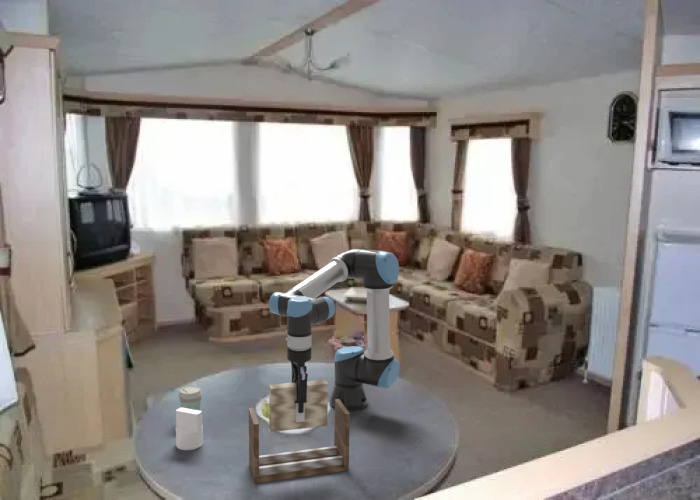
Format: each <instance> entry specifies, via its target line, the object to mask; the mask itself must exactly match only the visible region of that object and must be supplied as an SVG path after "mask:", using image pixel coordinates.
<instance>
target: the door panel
mask: <svg viewBox="0 0 700 500" xmlns="http://www.w3.org/2000/svg"><path fill="white" fill-rule="evenodd" d="M268 387H269V392H268V395H269V397H268V398H269V401H268V402H269V404H268V405H269V407H268V408H269V409H268V410H269V413H268V415H269V417H268V418H269V421H268V422H269V423H268V424H269V425H268V426H269V430H270V432H271V433H274V432H284V431H285V432H286V431H292V430H303V429H308V428H309V429H310V428H320V427H327V426H328V414H329V413H328V406H329V405H328V404H329V403H328V402H329V401H328V400H329V398H328V397H329V383H328V381H327V380H326V379H320V380H310V381H309V380H307V402H306V403H305V422H296V403H295V402H294V401H297V392H296V383H292V382H288V383H287V382H285V383H276V384H269V386H268Z"/></svg>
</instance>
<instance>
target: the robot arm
mask: <svg viewBox="0 0 700 500" xmlns="http://www.w3.org/2000/svg"><path fill="white" fill-rule="evenodd" d="M399 275H400V264H399V261H398V258H397V257H396V255H395V254H394V253H393V252H388V251H385V250H375V249H365V248H351V249H348V250H346V251H342V252H341V253H338V254H336V255H335V256H333V257H332V258H330V259H329V260H328V261H327V263H326V265H324V266H323V267H322V268H320V269H319V270H317V271H316V272H314V273H312V274H311V275H309V276H307V278H305V279H304V280H302V281H301V282H299V283H298V284H296V285H295V286H293V287H291V288H290V289H289V290H287V291H286V292H283V291H280V292H279V291H276V292H273V293H272V294H271V295H270V297H269V301H268V306H269V310H270V312H271V313H272V314H275V315H278V316H281V317H282V316H283V317H286V319H287V322H286V323H287V324H286V325H287V335H286V336H287V337H285V341H286V342H287V344H286V345H287V350H286V359H287V361H288V362H290V365H291V383H296V392H297V401H294V402H295V403H296V422H305V403H306V402H307V381H308V376H309V374H308V373H307V369H308V368H307V365H305V364H306V363H307V362H310V361H311V360H312V346H313V345H312V344H313V343H312V339H313V337H312V336H313V335H312V326H314V325H316V324H319V323H322V322H326V321H327V320H329V319H330V318H332V317H333V316H334V315H335V312H336V305H335V303H334V301H333V299H332V298H330V297H328V296H320V295H322V294H323V293H324V292H326V291H327V290H329V289H330V288H331V287H333V286H334V285H336V284H337V283H342V282H344V281H345V280H348V279H356V280H361V281H362V288H363V289H364V290H366V326H367V329H366V331H367V335H366V336H367V348H366V349H365V348H364V347H362V346H357V345H356V346H353V345H352V346H345V347H341V348H339V349H337V350H336V351H335V353H334V386H333V388H332V392H331V394H330V398H329V404H331V405H332V406H333V407H332V406H331V405H330V406H331V407H332V408H334V407H335V399H340V401H341V402H342V403H343V405H344V406H345V408H346V409H347V410H353V411H358V410H357V409H359V410H362V409H364V408H366V406H367V405H368V397H367V394H366V390H365V388H364V384H365V385H369V386H373V387H377V388H379V389H387V390H388V389H391V388H392V387H393V386H394V384H395V383H396V382H397V380H398V377H399V374H400V370H401V369H400V368H401V364H400V361H399V360H398V359H395V356H394V355H395V353H394V350H392V349H391V348H390V347H391V341H390V340H391V337H390V336H391V335H390V333H391V332H390V331H391V330H390V328H391V327H390V290H391V289H392V288H393V287H394V284H395V283H397V281H398V279H399ZM319 296H320V297H319ZM363 407H364V408H363ZM361 408H362V409H361Z"/></svg>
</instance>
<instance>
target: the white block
mask: <svg viewBox="0 0 700 500" xmlns="http://www.w3.org/2000/svg"><path fill="white" fill-rule="evenodd" d="M203 444H204V426H203V411H202V410H200V411H199V410H193V409H188V408H182V407H181V406H180V407H179V408H177V409H176V410H175V445H176V446H175V447H176V448H177V449H179V450H181V451H194V450H196V449H199V448H200V447H202V445H203Z"/></svg>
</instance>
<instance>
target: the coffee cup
mask: <svg viewBox="0 0 700 500" xmlns="http://www.w3.org/2000/svg"><path fill="white" fill-rule="evenodd" d="M202 395H203V391H202V389H201V388H200V387H199V386H197V385H195V386H194V385H188V386H184V387H181V389H180V390H179V392H178V397H179V403H180V408H181V407H182V408H188V409H193V410H199V411H201V402H202V401H201V400H202Z"/></svg>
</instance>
